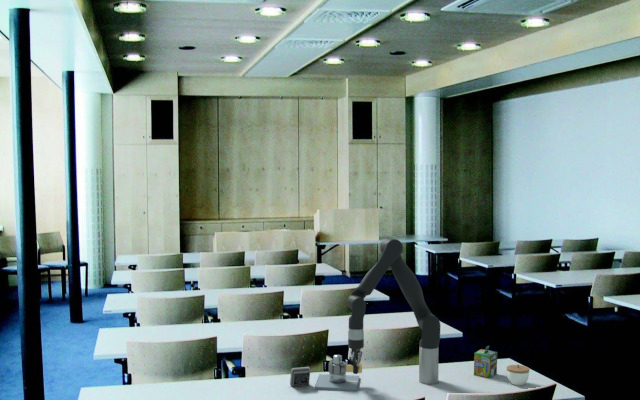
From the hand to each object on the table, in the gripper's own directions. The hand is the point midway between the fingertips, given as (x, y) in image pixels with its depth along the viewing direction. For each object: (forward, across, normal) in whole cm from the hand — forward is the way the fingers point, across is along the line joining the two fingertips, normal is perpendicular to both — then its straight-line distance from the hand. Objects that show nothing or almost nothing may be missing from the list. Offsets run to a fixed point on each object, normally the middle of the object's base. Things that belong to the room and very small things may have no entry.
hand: (355, 373), depth 341 cm
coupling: (+1, +3, +6) cm, 7 cm away
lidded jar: (+7, +34, -72) cm, 80 cm away
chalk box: (+7, +44, -55) cm, 70 cm away
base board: (+7, +2, +10) cm, 12 cm away
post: (+6, +2, +10) cm, 12 cm away
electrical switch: (+7, -8, +25) cm, 27 cm away
